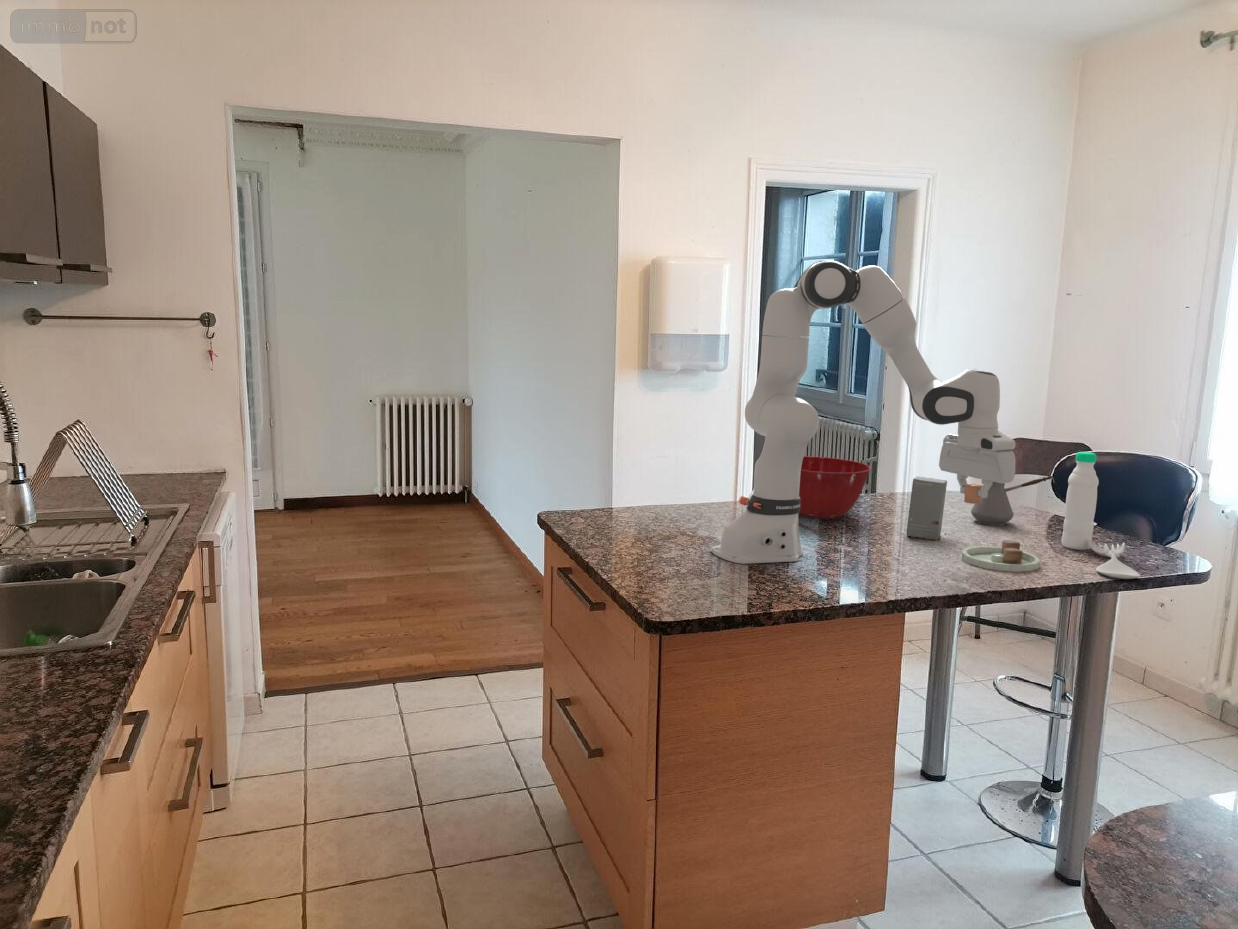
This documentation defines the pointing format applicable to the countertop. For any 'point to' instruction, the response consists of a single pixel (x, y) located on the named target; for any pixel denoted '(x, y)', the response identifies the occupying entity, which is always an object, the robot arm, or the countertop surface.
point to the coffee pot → (998, 504)
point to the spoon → (1113, 562)
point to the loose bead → (972, 494)
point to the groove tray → (997, 559)
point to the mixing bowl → (830, 486)
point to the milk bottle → (1080, 503)
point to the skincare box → (926, 508)
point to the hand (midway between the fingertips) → (973, 495)
